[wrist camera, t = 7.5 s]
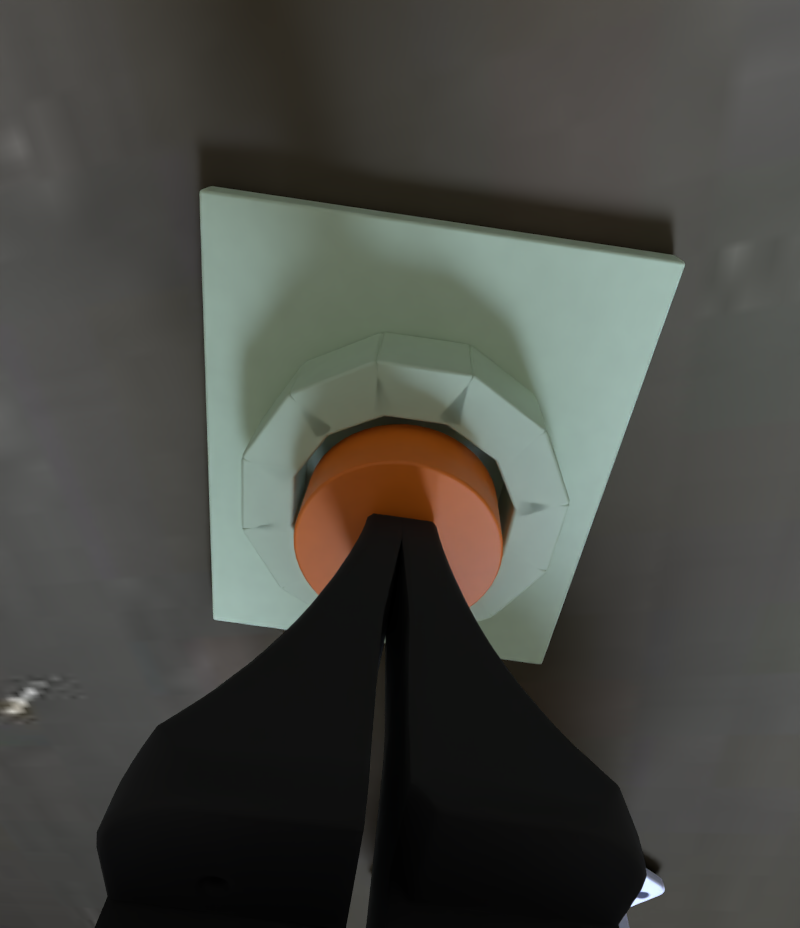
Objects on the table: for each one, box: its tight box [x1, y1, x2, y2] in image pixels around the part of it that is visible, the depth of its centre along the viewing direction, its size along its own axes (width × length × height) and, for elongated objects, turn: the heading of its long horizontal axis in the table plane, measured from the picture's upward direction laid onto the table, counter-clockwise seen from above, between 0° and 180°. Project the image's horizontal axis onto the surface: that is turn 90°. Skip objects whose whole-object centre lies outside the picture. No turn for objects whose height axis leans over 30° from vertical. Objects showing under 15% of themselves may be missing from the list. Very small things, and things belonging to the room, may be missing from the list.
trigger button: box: [294, 424, 503, 608], centre depth 14 cm, size 4×4×2 cm
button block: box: [199, 186, 685, 664], centre depth 15 cm, size 12×10×2 cm
